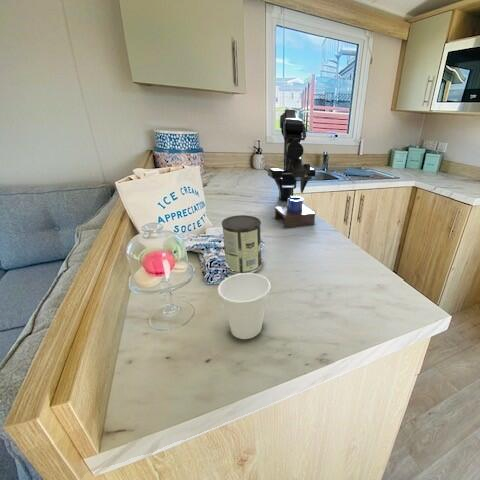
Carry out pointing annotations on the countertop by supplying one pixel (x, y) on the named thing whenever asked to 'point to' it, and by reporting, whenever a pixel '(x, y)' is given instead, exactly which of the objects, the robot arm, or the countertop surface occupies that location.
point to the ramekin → (295, 204)
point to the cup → (244, 302)
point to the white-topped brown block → (295, 217)
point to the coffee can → (242, 243)
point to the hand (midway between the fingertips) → (291, 193)
